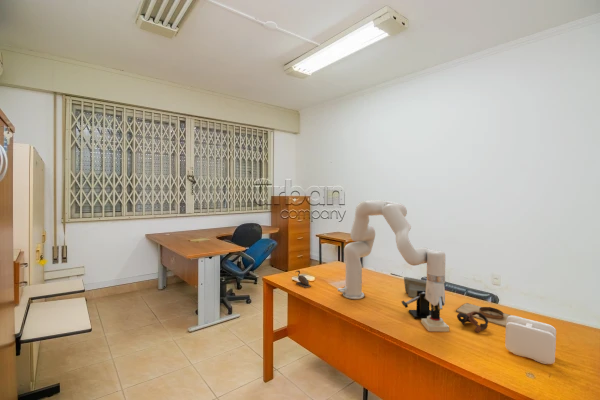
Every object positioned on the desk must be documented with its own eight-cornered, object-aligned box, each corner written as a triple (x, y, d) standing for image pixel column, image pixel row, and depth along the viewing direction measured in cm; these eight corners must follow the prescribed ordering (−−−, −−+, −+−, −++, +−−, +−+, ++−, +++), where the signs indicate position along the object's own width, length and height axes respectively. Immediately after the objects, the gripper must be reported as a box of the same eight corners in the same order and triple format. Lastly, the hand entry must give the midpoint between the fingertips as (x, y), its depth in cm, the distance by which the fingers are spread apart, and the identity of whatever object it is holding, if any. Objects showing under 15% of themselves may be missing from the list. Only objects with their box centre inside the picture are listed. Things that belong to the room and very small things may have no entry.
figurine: (292, 282, 190) (292, 269, 190) (297, 281, 193) (297, 268, 192) (305, 288, 179) (305, 274, 179) (310, 286, 182) (311, 273, 182)
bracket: (414, 319, 136) (415, 294, 136) (408, 311, 144) (409, 289, 144) (437, 319, 136) (438, 295, 135) (430, 312, 144) (430, 289, 143)
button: (432, 323, 126) (432, 319, 126) (429, 319, 129) (429, 316, 129) (440, 323, 126) (440, 319, 126) (437, 320, 129) (437, 316, 129)
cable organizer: (502, 351, 109) (503, 321, 108) (507, 340, 116) (507, 313, 116) (554, 368, 98) (555, 335, 98) (556, 355, 106) (557, 325, 105)
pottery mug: (478, 323, 132) (487, 312, 128) (483, 341, 124) (493, 330, 120) (452, 315, 134) (459, 303, 130) (455, 332, 126) (463, 320, 122)
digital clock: (435, 298, 162) (435, 280, 162) (427, 302, 156) (427, 283, 156) (409, 291, 174) (409, 274, 174) (401, 294, 169) (401, 276, 168)
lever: (406, 309, 137) (404, 304, 137) (402, 304, 142) (400, 300, 142) (428, 298, 137) (426, 294, 137) (424, 294, 142) (422, 290, 142)
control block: (428, 331, 124) (428, 322, 124) (421, 322, 132) (421, 314, 132) (449, 331, 124) (449, 322, 124) (440, 323, 132) (440, 314, 132)
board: (523, 319, 135) (523, 313, 135) (515, 330, 125) (516, 322, 125) (466, 304, 154) (466, 298, 154) (455, 312, 144) (455, 305, 144)
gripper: (420, 273, 135) (420, 311, 135) (434, 283, 120) (434, 325, 120) (436, 273, 134) (436, 311, 135) (452, 283, 120) (452, 326, 120)
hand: (435, 318), depth 127 cm, fingers closed
